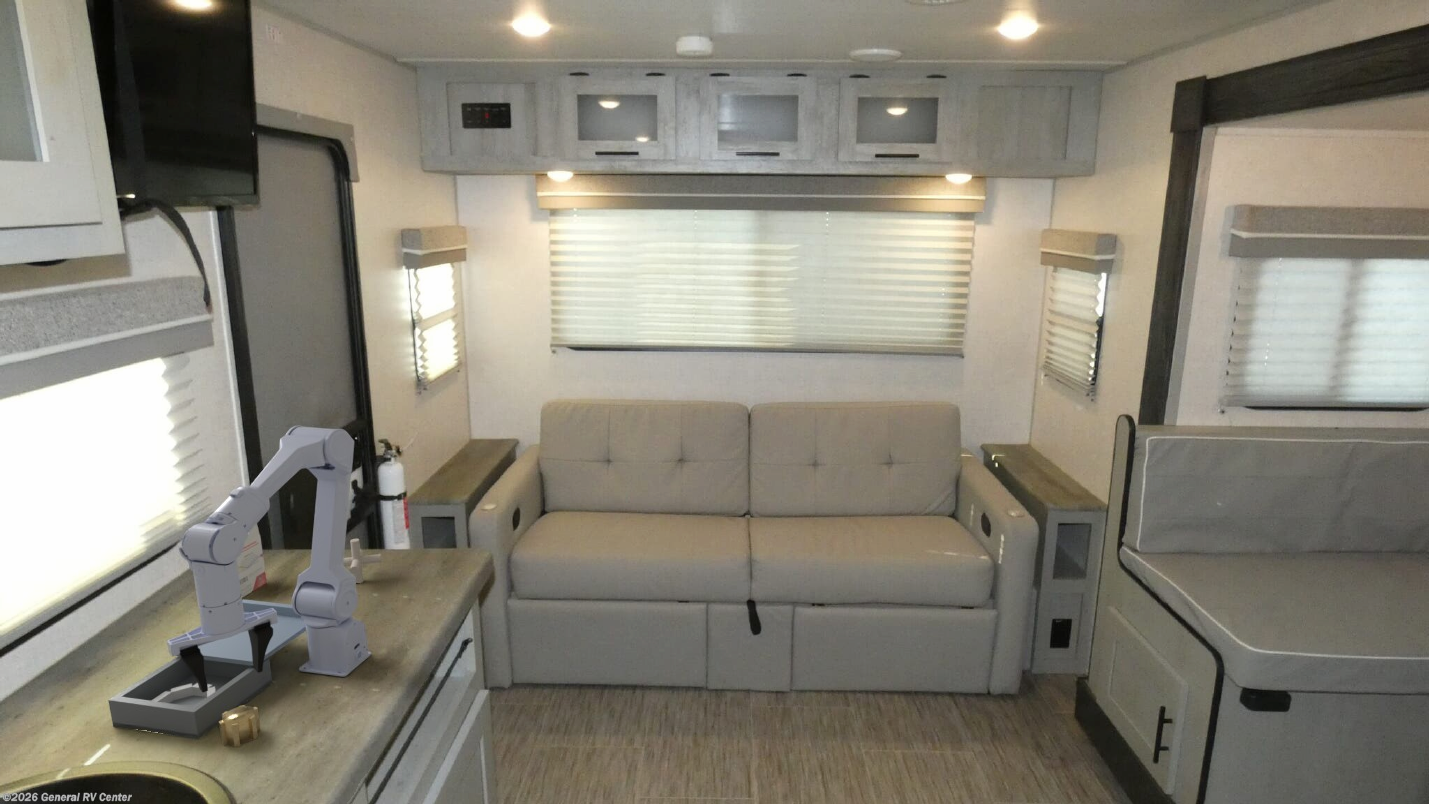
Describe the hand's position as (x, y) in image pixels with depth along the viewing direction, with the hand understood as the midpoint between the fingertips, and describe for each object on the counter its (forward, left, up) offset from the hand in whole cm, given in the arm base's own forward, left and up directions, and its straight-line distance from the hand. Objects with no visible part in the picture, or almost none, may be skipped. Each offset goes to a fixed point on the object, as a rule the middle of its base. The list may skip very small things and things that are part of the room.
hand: (231, 679), depth 126 cm
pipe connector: (+15, -52, -10) cm, 55 cm away
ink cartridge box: (+37, -43, -10) cm, 58 cm away
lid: (+13, -18, -4) cm, 23 cm away
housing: (+13, -5, -10) cm, 17 cm away
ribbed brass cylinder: (-1, +1, -10) cm, 10 cm away
